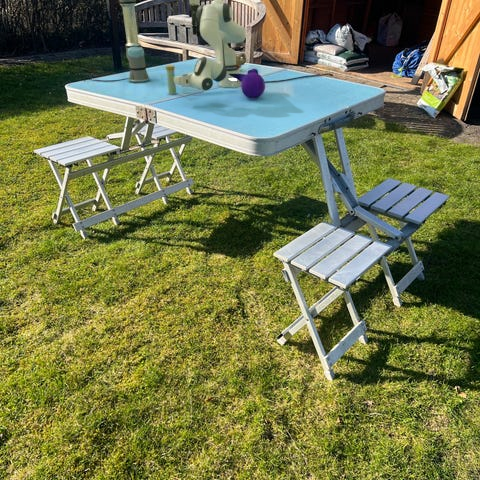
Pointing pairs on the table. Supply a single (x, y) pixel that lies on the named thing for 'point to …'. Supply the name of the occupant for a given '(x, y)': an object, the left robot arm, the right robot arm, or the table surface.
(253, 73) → the toy
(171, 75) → the jar
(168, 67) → the lid
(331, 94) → the table surface
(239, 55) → the beige patterned figurine
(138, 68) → the left robot arm
